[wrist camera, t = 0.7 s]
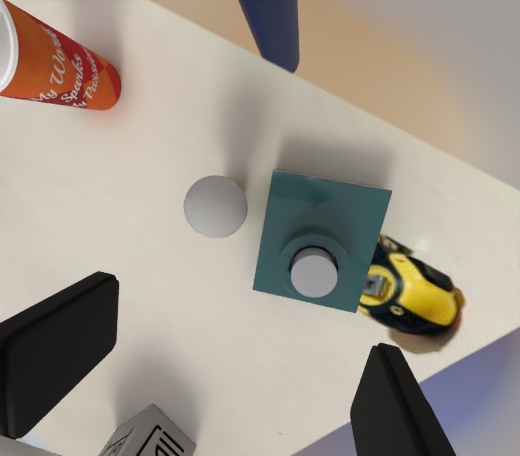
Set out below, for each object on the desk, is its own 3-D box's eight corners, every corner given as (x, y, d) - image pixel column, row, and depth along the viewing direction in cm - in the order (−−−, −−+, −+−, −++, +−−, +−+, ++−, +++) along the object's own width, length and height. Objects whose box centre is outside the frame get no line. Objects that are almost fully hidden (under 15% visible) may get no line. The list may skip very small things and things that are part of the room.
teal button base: (275, 168, 31) (271, 170, 26) (384, 187, 29) (399, 193, 25) (256, 279, 34) (249, 298, 30) (351, 300, 33) (359, 324, 28)
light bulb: (268, 189, 31) (252, 203, 22) (242, 230, 33) (217, 259, 24) (225, 161, 31) (192, 163, 22) (202, 203, 33) (161, 222, 23)
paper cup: (117, 132, 32) (-14, 113, 19) (62, 100, 33) (-107, 60, 19) (139, 66, 30) (8, -7, 17) (80, 33, 30) (-97, -67, 17)
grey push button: (296, 243, 28) (295, 251, 25) (339, 252, 27) (342, 260, 25) (288, 281, 29) (286, 292, 27) (329, 290, 28) (331, 302, 26)
